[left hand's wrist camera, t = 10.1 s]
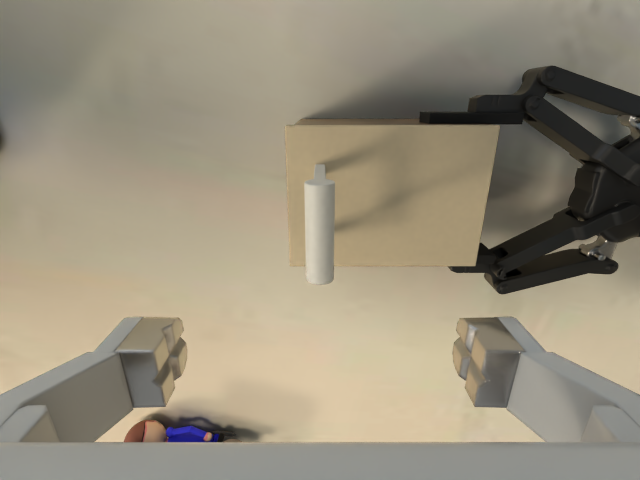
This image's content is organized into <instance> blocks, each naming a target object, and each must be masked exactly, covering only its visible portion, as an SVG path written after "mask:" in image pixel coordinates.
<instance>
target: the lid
mask: <svg viewBox="0 0 640 480" xmlns="http://www.w3.org/2000/svg"><path fill="white" fill-rule="evenodd" d="M499 131H500V126H499V125H286V126H285V146H286V173H287V200H288V228H289V255H290V266H306V280H307V281H308V282H309V283H311V284H315V285H325V284H328V283H331V282H332V281H333V279H334V266H476V260H477V254H478V249H479V243H480V238H481V232H482V226H483V221H484V215H485V209H486V204H487V198H488V193H489V187H490V181H491V176H492V170H493V165H494V159H495V153H496V148H497V142H498V137H499Z"/></svg>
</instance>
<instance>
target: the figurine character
mask: <svg viewBox="0 0 640 480" xmlns="http://www.w3.org/2000/svg"><path fill="white" fill-rule="evenodd" d="M211 433H212V434H211ZM211 433H210V432H205V431H203V430H200V429H198V428H196V427H193V426H191V425H190V426H186V427H181V428H176V429H174V428H173V427H169V428H167V430H165V428H164V426H163V425H162V424H161V423H160V422H158V421H156V420H144V421H141V422H139V423H137V424H136V425H134V426H133V427H132V428H131V429H130V431H129V432H128V433H127V435H126V437H125V440H124V442H223V438H224V436H234V435H236V434H235V433H234V432H228V431H216V430H215V431H213V432H211ZM213 434H214V437H213ZM167 437H169V438H168V439H167ZM212 437H213V439H212ZM224 442H241V441H239V440H237V439H228V440H225V441H224Z"/></svg>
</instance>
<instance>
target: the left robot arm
mask: <svg viewBox="0 0 640 480" xmlns="http://www.w3.org/2000/svg"><path fill="white" fill-rule="evenodd" d="M183 331H184V328H183V324H182V320H181V319H180V318H170V317H127V318H124V319H123V320H122V321H121V322H120V323H119V325H118V326H117V327H116V328H115V329H114V330H113V331H112V332H111V333H110V334H109V335H108V337H107V338H106V339H105V340H104V341H103V342H102V343H101V344H100V345H99V346H98V348H97V349H96V350H95V351H94V352H87V353H85V354H83V355H81V356H79V357H77V358H75V359H73V360H71V361H69V362H66V363H64V364H62V365H60V366H58V367H56V368H54V369H52V370H50V371H48V372H46V373H44V374H42V375H40V376H38V377H36V378H34V379H32V380H30V381H28V382H26V383H23V384H21V385H19V386H17V387H15V388H13V389H11V390H9V391H7V392H5V393H3V394H1V395H0V480H640V395H639V394H637V393H635V392H633V391H631V390H629V389H627V388H624V387H622V386H620V385H618V384H616V383H614V382H612V381H610V380H608V379H606V378H604V377H602V376H600V375H598V374H596V373H594V372H592V371H590V370H588V369H586V368H584V367H582V366H580V365H578V364H576V363H573V362H571V361H569V360H567V359H565V358H563V357H561V356H559V355H557V354H555V353H553V352H546V351H545V350H544V349H543V348H542V346H541V345H540V344H539V343H538V342H537V341H536V340H535V339H534V338H533V337H532V335H531V334H530V333H529V332H528V331H527V330H526V329H525V328H524V327H523V326H522V325H521V323H520V322H519V321H518V320H517V319H516V318H514V317H494V318H460V319H459V321H458V323H457V328H456V331H457V333H458V334H459V336H460V337H459V338H458V339H457V340H456V341H455V342H454V346H453V362H454V365H455V369H456V371H457V373H458V375H459V376H460V377H461V378H463V379H464V380H466V384H465V389H466V391H467V393H468V395H469V397H470V399H471V401H472V403H473V404H474V406H475V407H500V408H507V410H508V411H509V412H511V413H512V414H513V415H514V416H515V417H517V418H518V419H519V420H520V421H521V422H523V423H524V424H525V425H526V426H527V427H529V428H530V429H531V430H532V431H533V432H535V433H536V434H537V435H538V436H539V437H541V438H542V439H543V440H544V441H545V442H95V441H96V440H97V439H98V438H99V437H101V436H102V435H103V434H104V433H105V432H107V431H108V430H109V429H110V428H112V427H113V426H114V425H115V424H116V423H118V422H119V421H120V420H121V419H122V418H124V417H125V416H126V415H127V414H128V413H130V412H131V411H132V410H133V408H140V407H165V406H166V405H167V403H168V401H169V399H170V397H171V395H172V393H173V391H174V389H175V384H174V380H176V379H177V378H179V377H180V376H181V375H182V373H183V371H184V369H185V365H186V361H187V346H186V342H185V341H184V340H183V339H182V338H181V337H180V336H181V334H182V333H183Z"/></svg>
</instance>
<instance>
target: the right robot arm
mask: <svg viewBox="0 0 640 480" xmlns="http://www.w3.org/2000/svg"><path fill="white" fill-rule="evenodd" d="M522 82H523V83H522V85H521V87H520V88H519V90H518V91H517V92H516V93H514V94H512V95H476V96H474V97H472V98H470V99H469V106H468V112H420V118H419V122H422V123H427V124H522V121H523V120H524V121H525V122H527V123H528V124H530V125H531V126H532V127H534V128H535V129H537V130H538V131H540V132H541V133H542V134H544V135H545V136H547V137H548V138H549V139H551V140H552V141H554V142H555V143H557V144H558V145H559V146H561V147H562V148H564V149H565V150H566V151H568V152H569V153H570V155H571V156H572V157H573V158H575V159H576V160H578V161H579V162H581V163H582V164H583V166H582V168H578V169H577V172H576V176H575V188H574V190H573V192H572V194H571V196H570V199H569V202H568V206H570V207H568V208H566V209H564V210H562V211H560V212H557V213H556V214H554V217H553V218H552V219H550V220H548V221H546V222H544V223H542V224H540V225H538V226H536V227H534V228H532V229H530V230H528V231H526V232H524V233H522V234H520V235H518V236H516V237H514V238H512V239H510V240H508V241H506V242H504V243H502V244H499V245H497V246H495V247H493V248H491V249H488V248H487V247H486V246H484V245H483V244H482V243H479V249H478V254H477V260H476V266H448V267H449V268H450V270H451V271H453V272H456V273H463V272H464V273H485V274H484V277H485V279H486V280H487V281H488V282H489V283H490V285H491V286H492V287H493V288H494V289H495V290H496V291H497V292H498V293H499V294H507V293H511V292H515V291H519V290H523V289H527V288H531V287H535V286H539V285H543V284H547V283H551V282H555V281H559V280H563V279H567V278H571V277H575V276H579V275H583V274H587V273H594V274H612V273H614V272H615V271H616V270H617V269H618V263H617V262H616V261H614V260H612V259H611V258H612V256H613V253H614V251H615V248H616V246H617V243H618V242H623V241H625V240H627V239H630V238H633V237H640V96H637V95H634V94H632V93H629V92H626V91H623V90H620V89H618V88H615V87H612V86H609V85H606V84H604V83H601V82H598V81H595V80H592V79H590V78H587V77H584V76H581V75H578V74H576V73H573V72H570V71H567V70H564V69H562V68H559V67H556V66H547V67H540V68H534V69H530V70H527V71H526V72H525V73H524V75H523V77H522ZM546 93H547V94H550V95H552V96H555V97H558V98H561V99H564V100H567V101H570V102H573V103H575V104H578V105H581V106H584V107H587V108H590V109H593V110H596V111H598V112H601V113H605V114H611V115H618V117H617V120H618V121H620V123H621V124H622V125H623V126H627V127H629V128H630V130H631V135H628V136H626V137H624V138H623V139H621V140H619V141H618V142H616V143H615V144H613V145H609V144H606V143H604V142H603V141H601V140H600V139H599V138H597V137H596V136H594V135H593V134H592V133H590V132H589V131H588V130H586V129H585V128H583V127H582V126H581V125H579V124H578V123H577V122H575V121H574V120H573V119H571V118H570V117H568V116H567V115H566V114H564V113H563V112H562V111H560V110H559V109H557V108H556V107H555V106H553V105H552V104H551V103H549V102H548V101H547V100H545V99H544V98H543V97H544V95H545V94H546ZM595 235H597V236H599V237H598V239H597V240H596V241H595V242H594V243H591V244H587V245H585V244H581V245H580V246H579V249H568V250H563V251H559V252H556V253H552V254H548V255H545V254H547V253H549V252H552V251H554V250H556V249H558V248H560V247H562V246H564V245H566V244H569V243H571V242H573V241H575V240H585V239H588V238H591V237H593V236H595ZM543 255H544V256H543Z"/></svg>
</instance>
